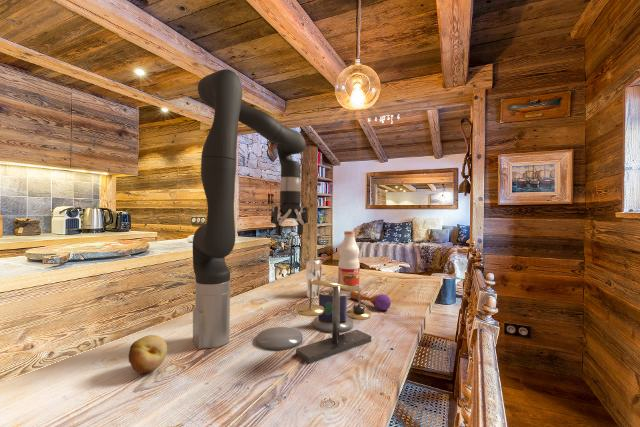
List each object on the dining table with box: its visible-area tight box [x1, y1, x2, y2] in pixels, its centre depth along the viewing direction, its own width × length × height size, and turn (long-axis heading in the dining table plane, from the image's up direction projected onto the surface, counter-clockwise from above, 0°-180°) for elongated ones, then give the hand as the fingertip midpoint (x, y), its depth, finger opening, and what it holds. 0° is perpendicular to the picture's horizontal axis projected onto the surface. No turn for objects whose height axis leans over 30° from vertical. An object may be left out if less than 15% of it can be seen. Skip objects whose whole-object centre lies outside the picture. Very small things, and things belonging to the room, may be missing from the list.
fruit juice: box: [337, 230, 361, 298], centre depth 138 cm, size 9×9×28 cm
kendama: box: [350, 291, 392, 311], centre depth 123 cm, size 6×6×20 cm
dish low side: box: [312, 316, 354, 334], centre depth 101 cm, size 13×13×1 cm
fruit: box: [128, 334, 168, 374], centre depth 71 cm, size 8×8×8 cm
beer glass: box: [305, 260, 323, 299], centre depth 133 cm, size 7×7×15 cm
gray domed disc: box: [256, 326, 303, 351], centre depth 89 cm, size 13×13×1 cm
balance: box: [295, 279, 372, 365], centre depth 85 cm, size 24×7×20 cm, turn 127°
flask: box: [318, 288, 348, 323], centre depth 101 cm, size 9×3×11 cm, turn 84°
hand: (289, 235), depth 111 cm, fingers open, 8 cm apart
